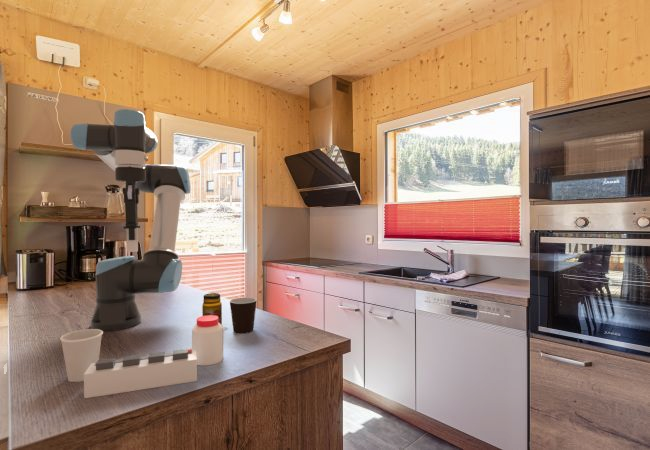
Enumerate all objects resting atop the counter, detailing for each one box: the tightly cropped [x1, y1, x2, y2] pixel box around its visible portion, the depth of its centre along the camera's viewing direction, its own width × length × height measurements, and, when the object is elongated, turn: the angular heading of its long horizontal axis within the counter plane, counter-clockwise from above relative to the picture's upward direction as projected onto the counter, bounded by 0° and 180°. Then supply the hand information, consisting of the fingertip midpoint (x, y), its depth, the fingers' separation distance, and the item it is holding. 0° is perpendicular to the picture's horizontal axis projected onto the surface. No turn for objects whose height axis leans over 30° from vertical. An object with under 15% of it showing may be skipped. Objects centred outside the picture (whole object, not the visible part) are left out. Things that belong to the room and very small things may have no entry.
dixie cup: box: [59, 328, 104, 383], centre depth 84 cm, size 8×8×10 cm
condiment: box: [201, 292, 227, 331], centre depth 118 cm, size 7×8×12 cm
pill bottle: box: [191, 315, 224, 367], centre depth 94 cm, size 8×8×11 cm
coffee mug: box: [229, 296, 258, 335], centre depth 119 cm, size 12×9×10 cm
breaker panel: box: [83, 348, 198, 399], centre depth 81 cm, size 6×22×6 cm, turn 111°
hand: (132, 251), depth 101 cm, fingers closed
